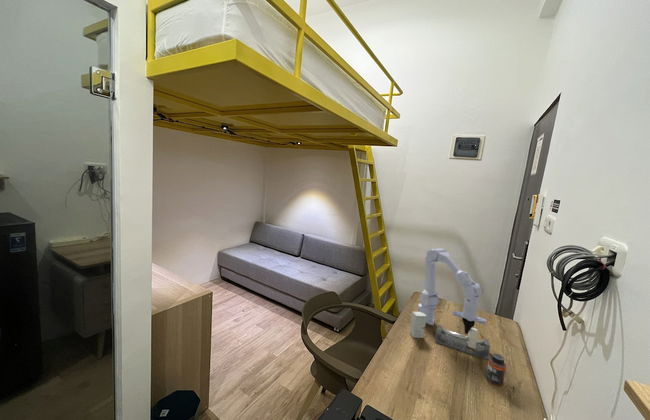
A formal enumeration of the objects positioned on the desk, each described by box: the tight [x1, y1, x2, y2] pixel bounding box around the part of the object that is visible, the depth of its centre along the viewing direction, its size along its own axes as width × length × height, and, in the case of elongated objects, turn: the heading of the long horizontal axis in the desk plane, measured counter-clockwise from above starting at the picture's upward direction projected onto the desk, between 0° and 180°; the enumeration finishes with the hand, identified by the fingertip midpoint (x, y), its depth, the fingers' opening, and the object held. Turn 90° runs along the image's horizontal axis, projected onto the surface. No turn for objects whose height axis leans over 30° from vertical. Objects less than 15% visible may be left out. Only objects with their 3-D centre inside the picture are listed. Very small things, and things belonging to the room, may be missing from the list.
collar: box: [467, 327, 479, 349], centre depth 121 cm, size 3×5×8 cm, turn 154°
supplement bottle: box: [485, 352, 507, 387], centre depth 100 cm, size 6×6×11 cm
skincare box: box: [409, 311, 427, 339], centre depth 127 cm, size 6×4×12 cm
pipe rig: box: [434, 324, 492, 361], centre depth 123 cm, size 24×12×6 cm, turn 64°
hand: (466, 332), depth 122 cm, fingers closed
